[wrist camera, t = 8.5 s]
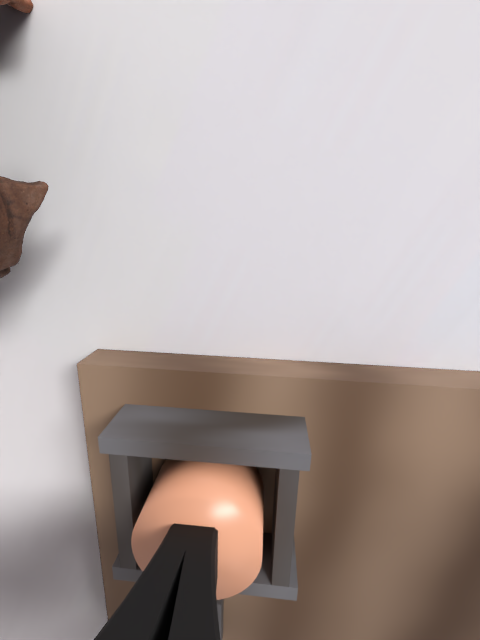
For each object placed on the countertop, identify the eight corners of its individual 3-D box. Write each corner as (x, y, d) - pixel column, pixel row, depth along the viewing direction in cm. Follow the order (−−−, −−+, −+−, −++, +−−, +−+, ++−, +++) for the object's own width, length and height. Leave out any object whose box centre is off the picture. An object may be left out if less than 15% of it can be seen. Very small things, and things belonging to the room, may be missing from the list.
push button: (266, 447, 12) (265, 504, 9) (261, 535, 13) (259, 607, 10) (156, 438, 12) (126, 491, 9) (160, 525, 13) (135, 592, 11)
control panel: (574, 377, 12) (694, 436, 9) (447, 754, 18) (487, 873, 15) (97, 349, 13) (39, 390, 10) (134, 707, 20) (105, 806, 16)
